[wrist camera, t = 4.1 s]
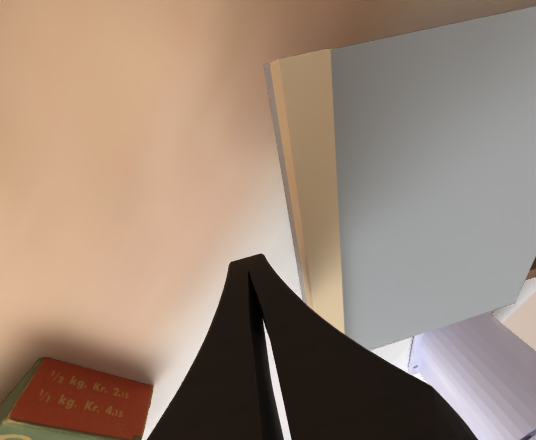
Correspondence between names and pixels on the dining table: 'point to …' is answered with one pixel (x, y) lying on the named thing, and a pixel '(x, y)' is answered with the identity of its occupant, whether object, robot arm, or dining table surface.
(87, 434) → the carton
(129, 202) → the dining table surface
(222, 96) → the dining table surface
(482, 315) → the robot arm
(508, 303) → the lid
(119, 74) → the dining table surface
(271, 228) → the dining table surface
